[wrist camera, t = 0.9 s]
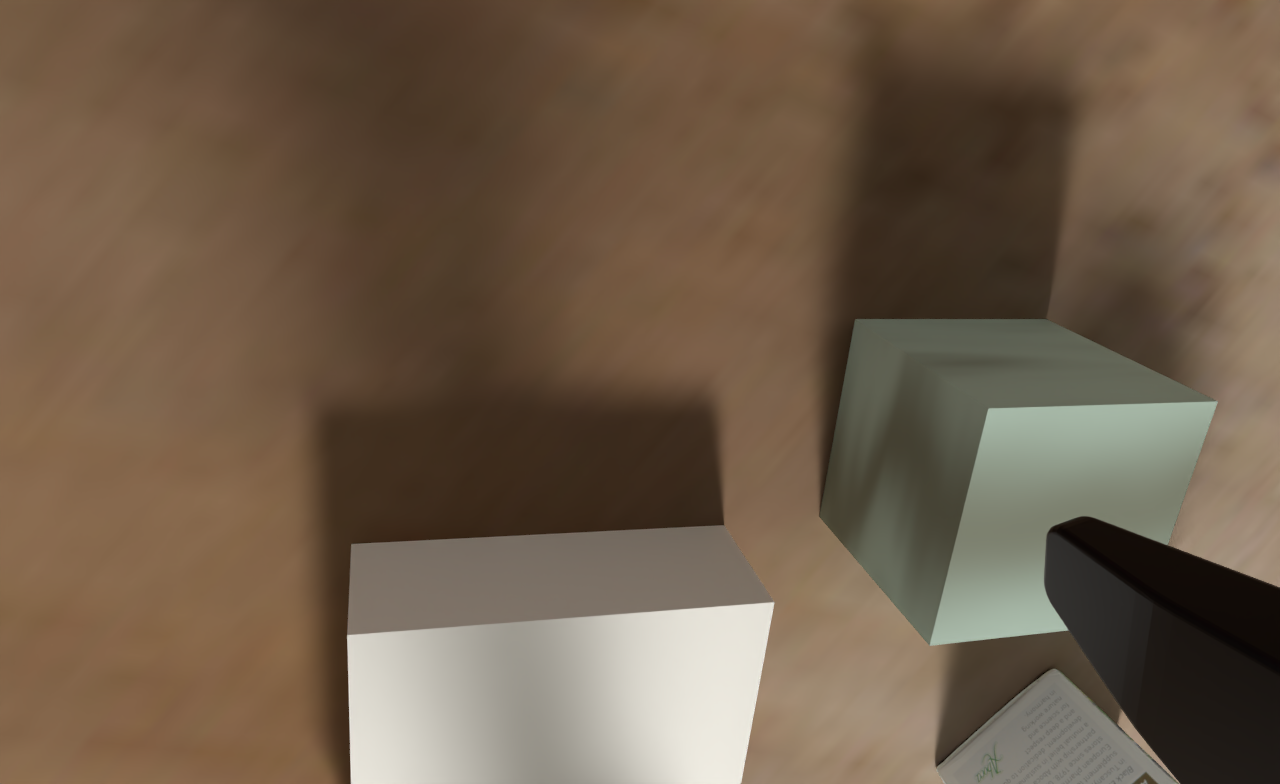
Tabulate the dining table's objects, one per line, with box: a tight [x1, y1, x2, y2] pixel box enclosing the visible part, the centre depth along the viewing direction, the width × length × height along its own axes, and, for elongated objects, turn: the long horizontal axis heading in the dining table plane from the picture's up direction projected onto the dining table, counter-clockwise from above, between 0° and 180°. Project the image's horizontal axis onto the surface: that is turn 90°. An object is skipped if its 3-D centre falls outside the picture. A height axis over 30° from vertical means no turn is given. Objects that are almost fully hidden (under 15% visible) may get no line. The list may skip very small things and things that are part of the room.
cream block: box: [347, 525, 774, 784], centre depth 25 cm, size 10×10×4 cm
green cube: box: [819, 319, 1218, 646], centre depth 24 cm, size 6×6×6 cm
